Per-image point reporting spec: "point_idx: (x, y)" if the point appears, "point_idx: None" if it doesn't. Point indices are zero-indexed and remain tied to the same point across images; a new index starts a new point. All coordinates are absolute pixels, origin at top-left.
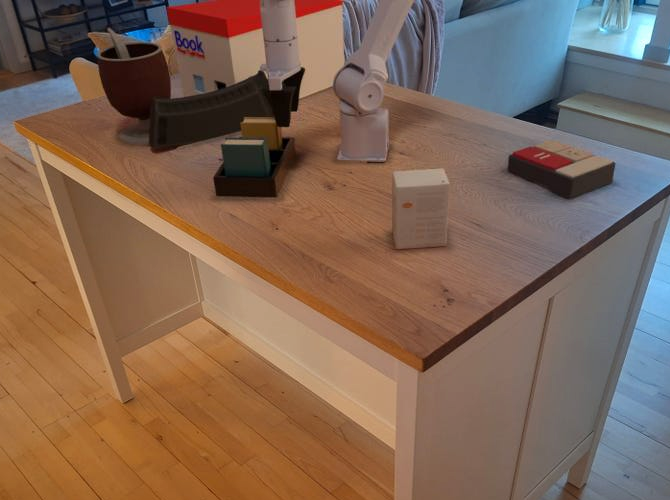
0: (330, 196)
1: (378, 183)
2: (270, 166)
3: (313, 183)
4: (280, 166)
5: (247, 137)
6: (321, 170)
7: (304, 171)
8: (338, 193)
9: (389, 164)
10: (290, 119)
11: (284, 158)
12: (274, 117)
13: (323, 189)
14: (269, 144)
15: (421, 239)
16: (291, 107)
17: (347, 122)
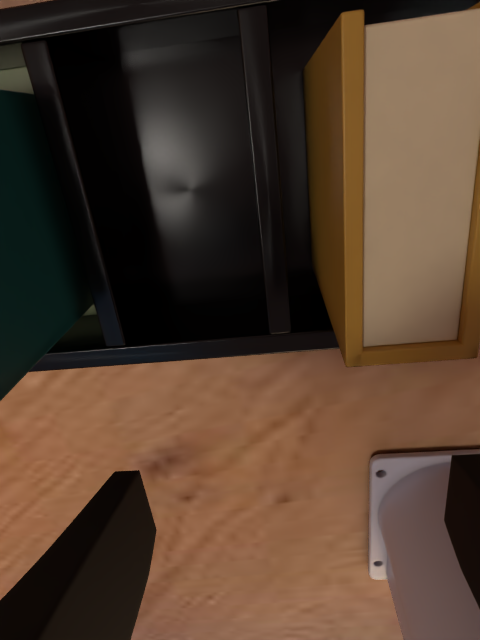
0: (104, 475)
1: (222, 567)
2: (69, 325)
3: (181, 414)
4: (90, 366)
5: (322, 92)
6: (293, 417)
7: (277, 363)
8: None
9: (358, 578)
10: (141, 582)
11: (182, 359)
12: (71, 523)
13: (145, 450)
14: (322, 246)
15: None
16: (461, 520)
17: (434, 635)
